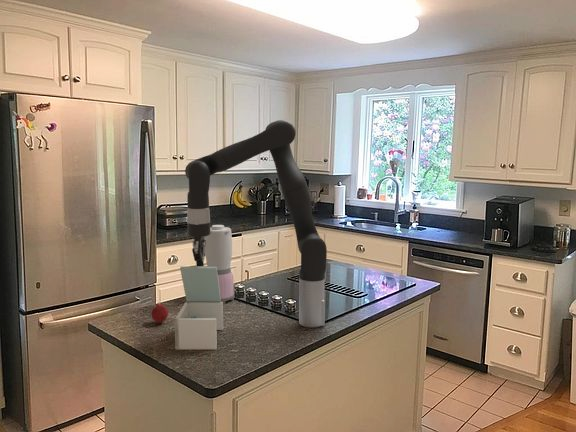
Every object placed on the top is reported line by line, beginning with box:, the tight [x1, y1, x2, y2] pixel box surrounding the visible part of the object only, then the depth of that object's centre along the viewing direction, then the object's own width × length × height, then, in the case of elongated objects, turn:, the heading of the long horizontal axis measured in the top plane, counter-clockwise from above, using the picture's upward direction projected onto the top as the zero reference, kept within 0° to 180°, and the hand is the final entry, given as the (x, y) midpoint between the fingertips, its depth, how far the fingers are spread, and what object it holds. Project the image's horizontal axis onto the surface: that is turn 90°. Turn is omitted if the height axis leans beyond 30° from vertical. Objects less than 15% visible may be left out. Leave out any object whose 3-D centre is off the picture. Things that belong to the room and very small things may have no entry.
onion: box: [150, 301, 169, 324], centre depth 175 cm, size 6×6×8 cm
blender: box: [204, 224, 235, 305], centre depth 201 cm, size 16×12×32 cm
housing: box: [173, 301, 224, 350], centre depth 161 cm, size 13×17×10 cm
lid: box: [179, 265, 221, 302], centre depth 163 cm, size 12×17×1 cm
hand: (200, 271), depth 161 cm, fingers closed
